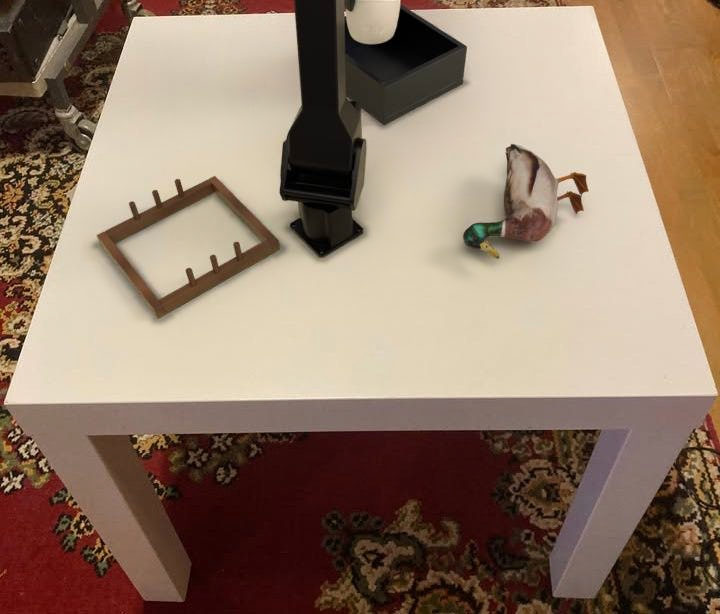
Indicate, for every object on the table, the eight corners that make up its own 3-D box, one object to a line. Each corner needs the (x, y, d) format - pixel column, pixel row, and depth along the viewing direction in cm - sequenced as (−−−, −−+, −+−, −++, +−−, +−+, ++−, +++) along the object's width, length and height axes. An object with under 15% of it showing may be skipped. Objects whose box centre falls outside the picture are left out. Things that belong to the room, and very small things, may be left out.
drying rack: (280, 249, 83) (276, 225, 80) (158, 318, 77) (149, 296, 74) (217, 184, 90) (211, 160, 87) (100, 244, 84) (89, 220, 81)
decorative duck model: (479, 243, 75) (424, 150, 83) (476, 284, 81) (425, 194, 89) (608, 198, 77) (542, 111, 85) (595, 242, 83) (535, 157, 91)
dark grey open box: (462, 84, 102) (467, 46, 97) (384, 125, 97) (384, 87, 92) (388, 33, 110) (389, -4, 105) (311, 69, 105) (308, 31, 100)
